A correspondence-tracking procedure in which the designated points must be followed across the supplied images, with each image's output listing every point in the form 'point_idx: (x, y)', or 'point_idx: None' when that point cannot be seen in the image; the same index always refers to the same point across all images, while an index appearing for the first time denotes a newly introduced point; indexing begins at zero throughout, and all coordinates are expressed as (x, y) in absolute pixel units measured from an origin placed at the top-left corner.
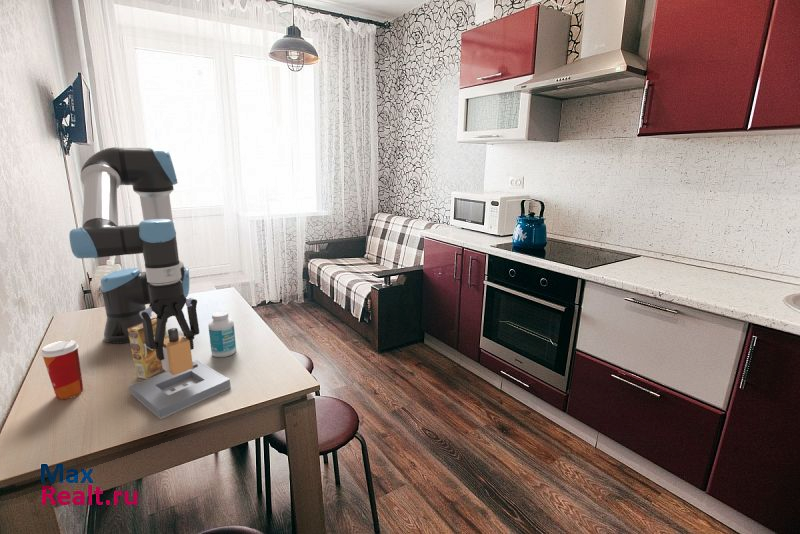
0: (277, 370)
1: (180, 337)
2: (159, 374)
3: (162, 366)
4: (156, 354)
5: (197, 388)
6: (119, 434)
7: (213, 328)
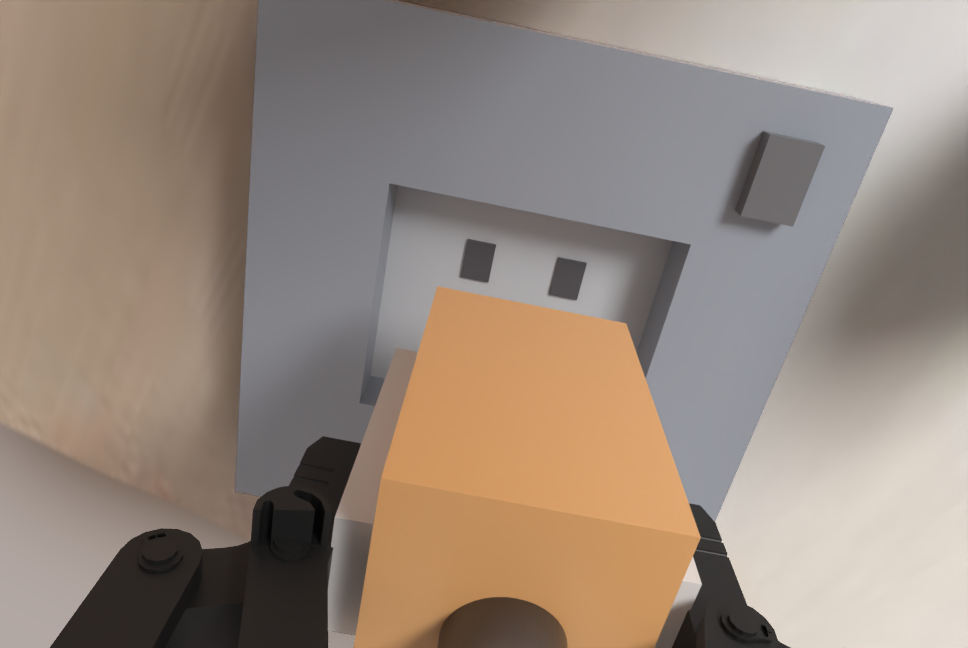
0: (960, 623)
1: (619, 638)
2: (522, 35)
3: (391, 364)
4: (293, 479)
5: None
6: (58, 384)
7: None
